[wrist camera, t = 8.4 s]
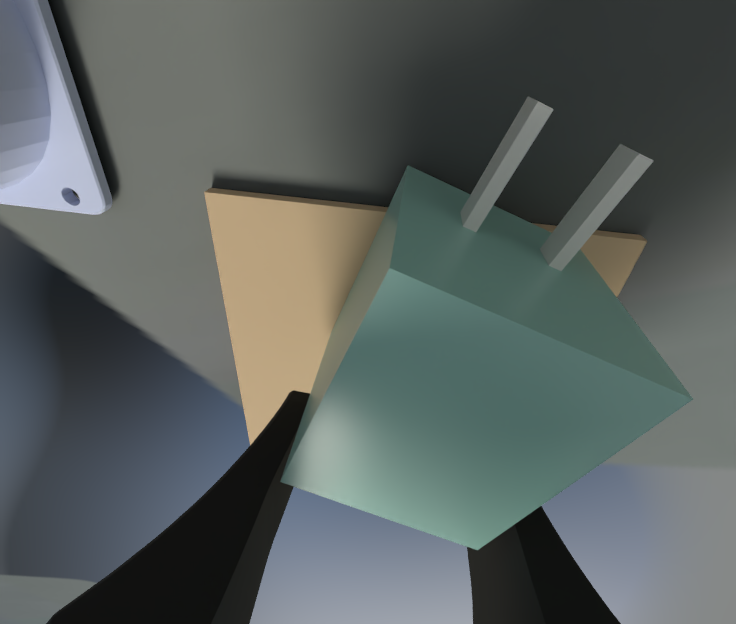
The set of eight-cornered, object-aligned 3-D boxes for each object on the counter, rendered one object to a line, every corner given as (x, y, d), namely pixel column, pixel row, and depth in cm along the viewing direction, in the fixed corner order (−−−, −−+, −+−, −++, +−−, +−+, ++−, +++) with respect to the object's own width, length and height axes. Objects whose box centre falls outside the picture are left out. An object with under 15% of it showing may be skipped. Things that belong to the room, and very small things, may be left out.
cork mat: (254, 442, 18) (251, 450, 18) (210, 187, 11) (204, 192, 11) (512, 481, 17) (513, 489, 17) (640, 234, 10) (647, 241, 10)
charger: (331, 332, 13) (280, 481, 9) (455, 59, 8) (488, 74, 4) (461, 384, 14) (477, 550, 9) (648, 158, 9) (873, 273, 4)
